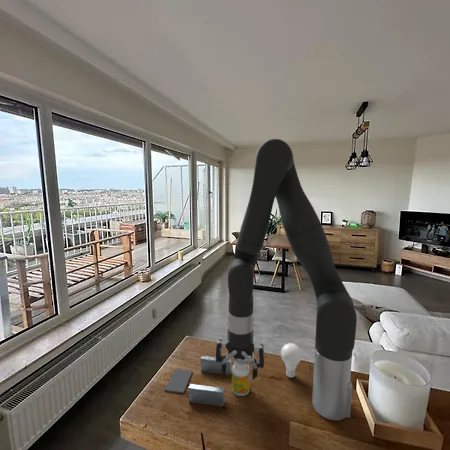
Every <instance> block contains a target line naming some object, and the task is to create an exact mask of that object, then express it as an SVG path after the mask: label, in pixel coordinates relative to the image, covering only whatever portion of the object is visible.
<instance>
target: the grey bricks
mask: <svg viewBox="0 0 450 450" xmlns="http://www.w3.org/2000/svg"><path fill="white" fill-rule="evenodd" d="M199 360H200V372H204V373H211V374H222V375H224V373H222V363H221V362H216V356H207V355H206V356H205V355H201V357H200V359H199ZM227 375H229V376H230V375H231V376H232V358H231V359H230V360H229V361H227ZM225 400H226V399H225V388H224V387H218V386H217V387H216V386H208V385H203V384H202V385H201V384H195V383H189V386H188V402H189V403H195V404H196V403H197V404H202V405H208V406H209V405H211V406H217V407H225V403H226V402H225Z"/></svg>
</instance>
